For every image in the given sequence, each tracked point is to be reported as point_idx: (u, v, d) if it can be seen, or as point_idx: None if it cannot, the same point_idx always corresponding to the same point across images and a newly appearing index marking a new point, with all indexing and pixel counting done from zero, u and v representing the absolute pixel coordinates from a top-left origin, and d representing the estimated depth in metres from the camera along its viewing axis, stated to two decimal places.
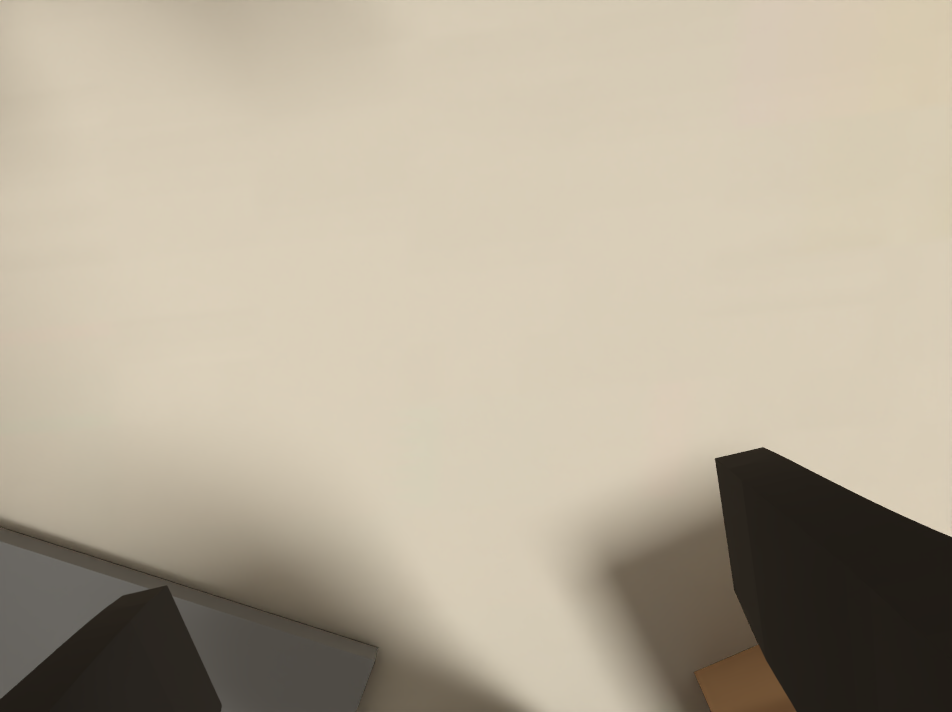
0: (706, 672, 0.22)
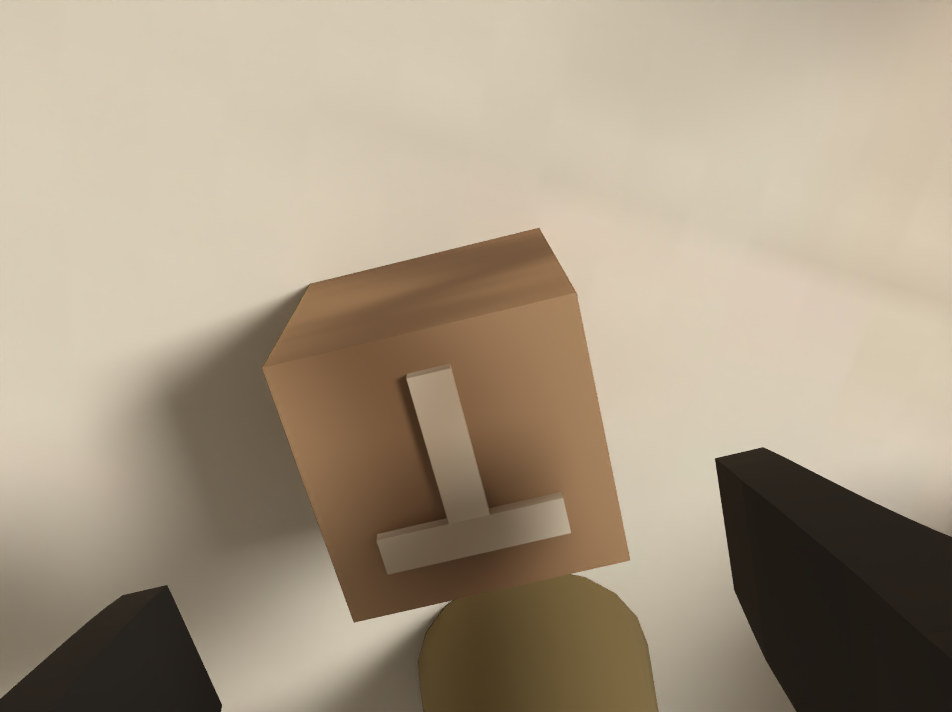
0: None
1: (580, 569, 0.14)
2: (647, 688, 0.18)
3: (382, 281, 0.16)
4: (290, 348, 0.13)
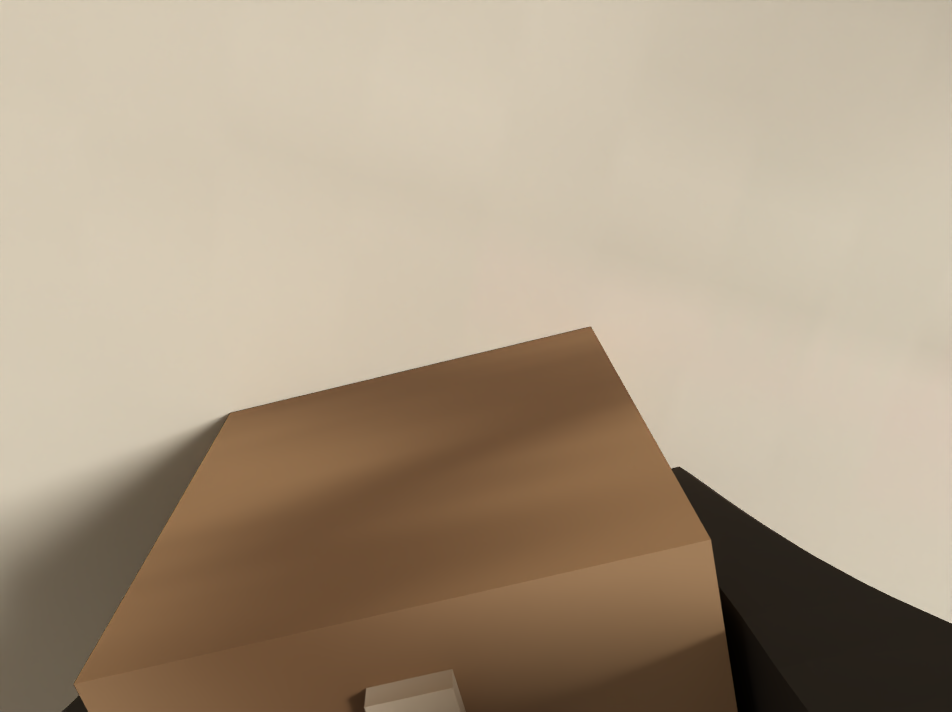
0: None
1: None
2: None
3: (338, 429, 0.09)
4: (145, 616, 0.07)
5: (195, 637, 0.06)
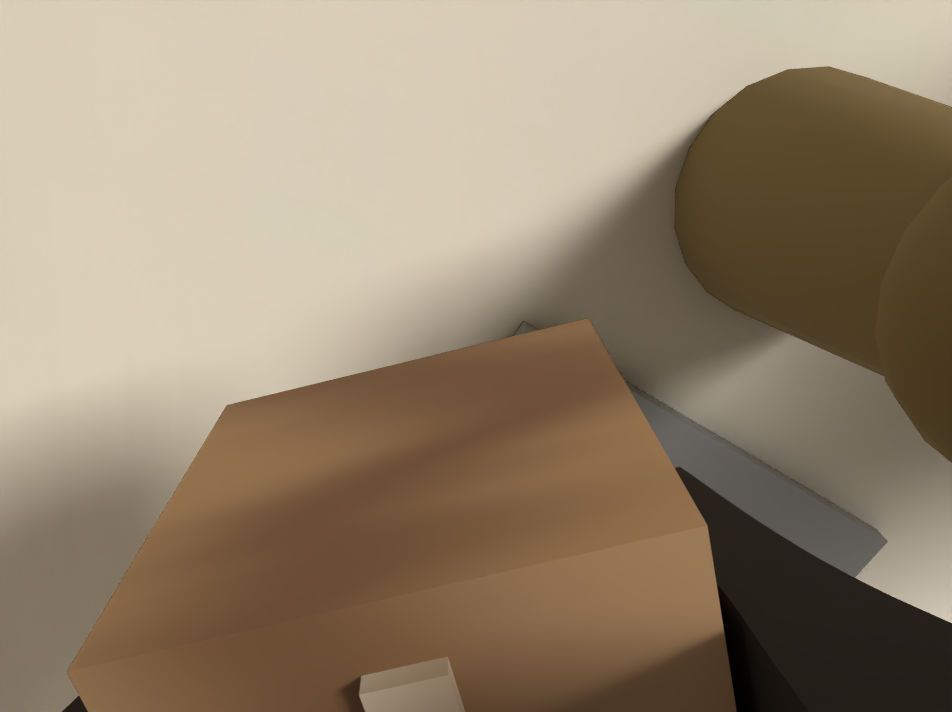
0: None
1: None
2: None
3: (334, 420, 0.09)
4: (139, 605, 0.07)
5: (189, 625, 0.06)
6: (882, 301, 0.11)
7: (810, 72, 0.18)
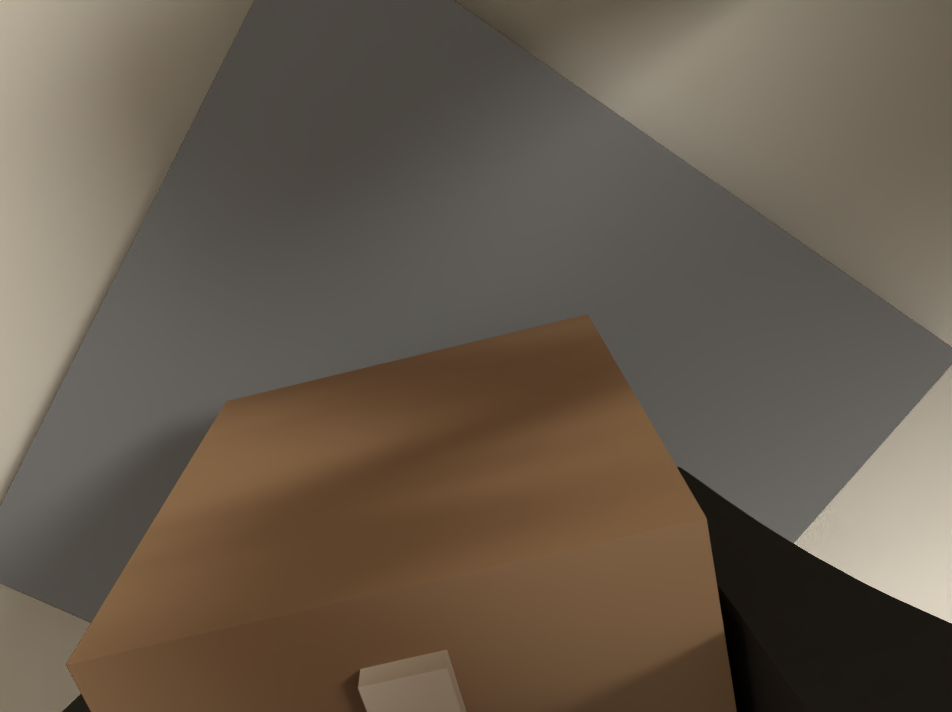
0: None
1: None
2: None
3: (334, 415, 0.09)
4: (138, 598, 0.07)
5: (188, 617, 0.06)
6: None
7: None
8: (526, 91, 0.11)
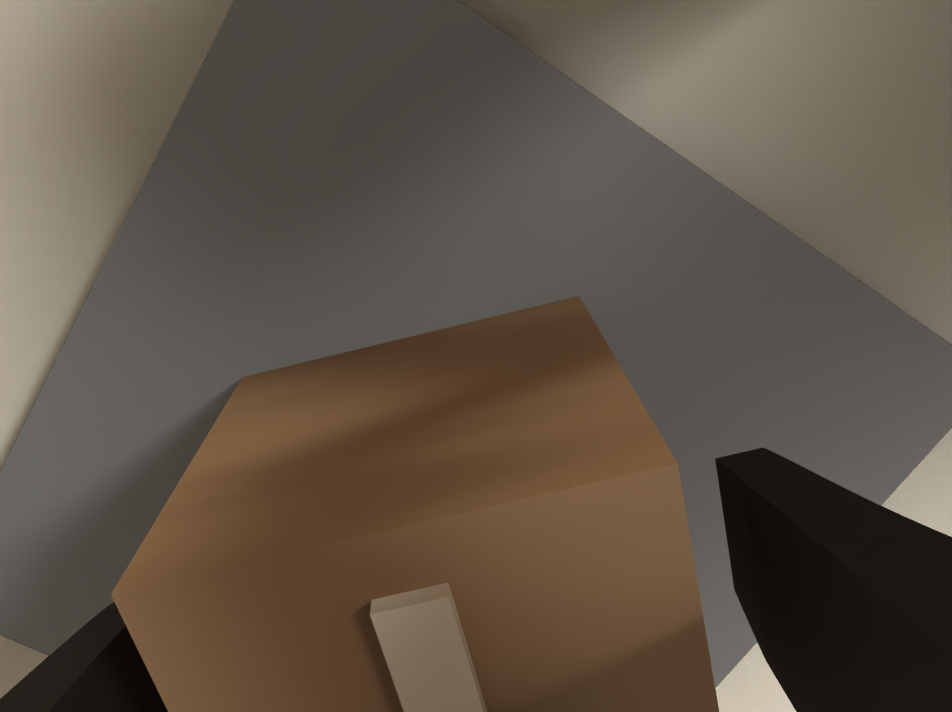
0: None
1: None
2: None
3: (344, 387, 0.10)
4: (172, 541, 0.08)
5: (218, 554, 0.07)
6: None
7: None
8: (532, 96, 0.10)
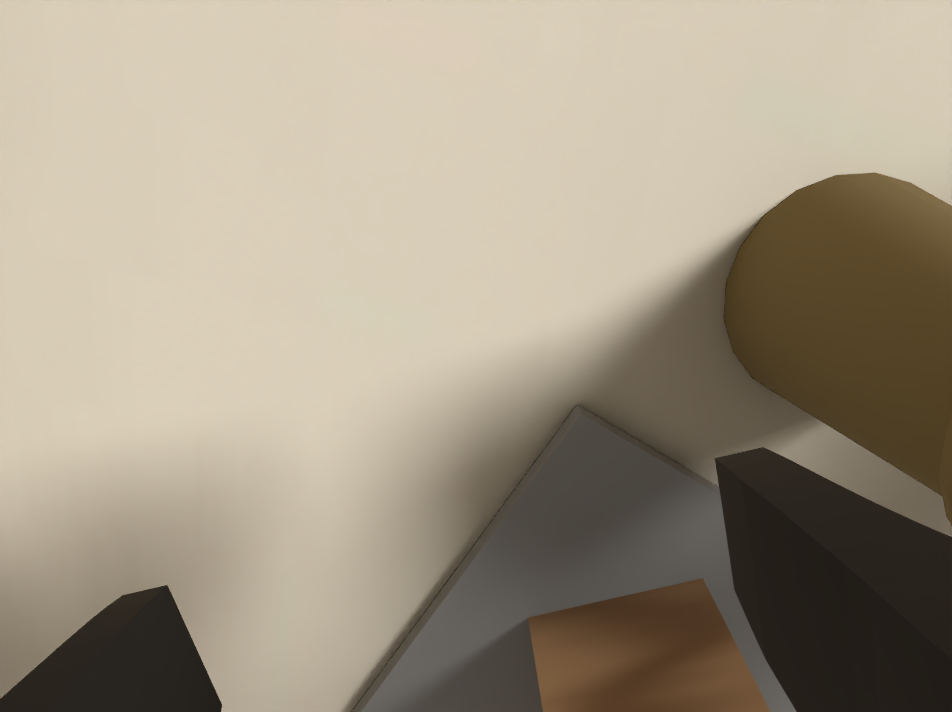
0: None
1: None
2: None
3: (595, 638, 0.21)
4: None
5: None
6: (947, 449, 0.12)
7: (858, 181, 0.19)
8: (685, 493, 0.21)
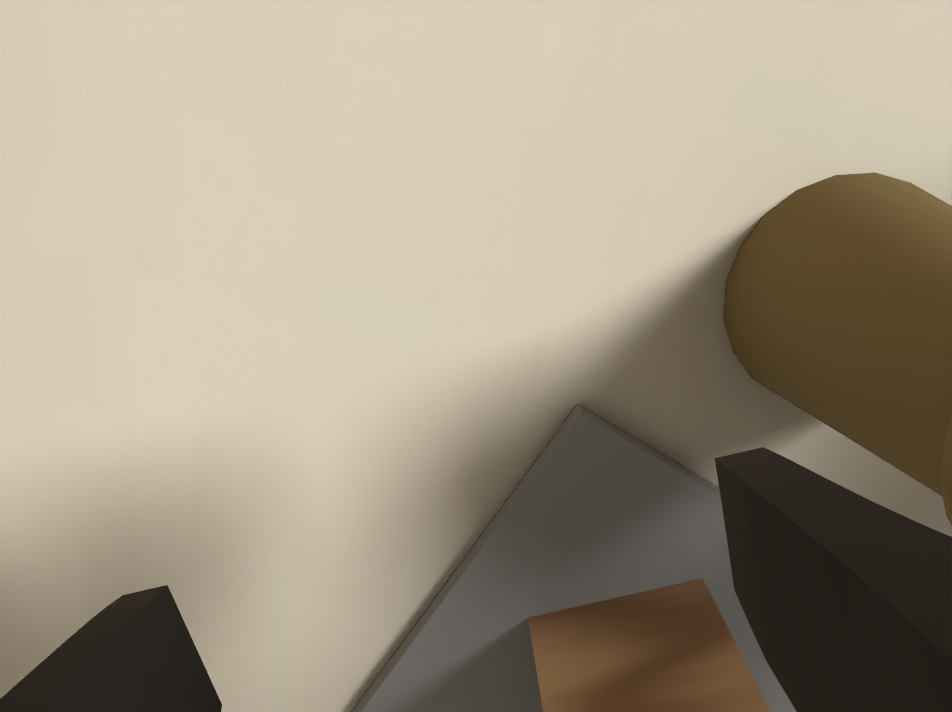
0: None
1: None
2: None
3: (595, 638, 0.21)
4: None
5: None
6: (948, 450, 0.12)
7: (858, 181, 0.19)
8: (685, 493, 0.21)
